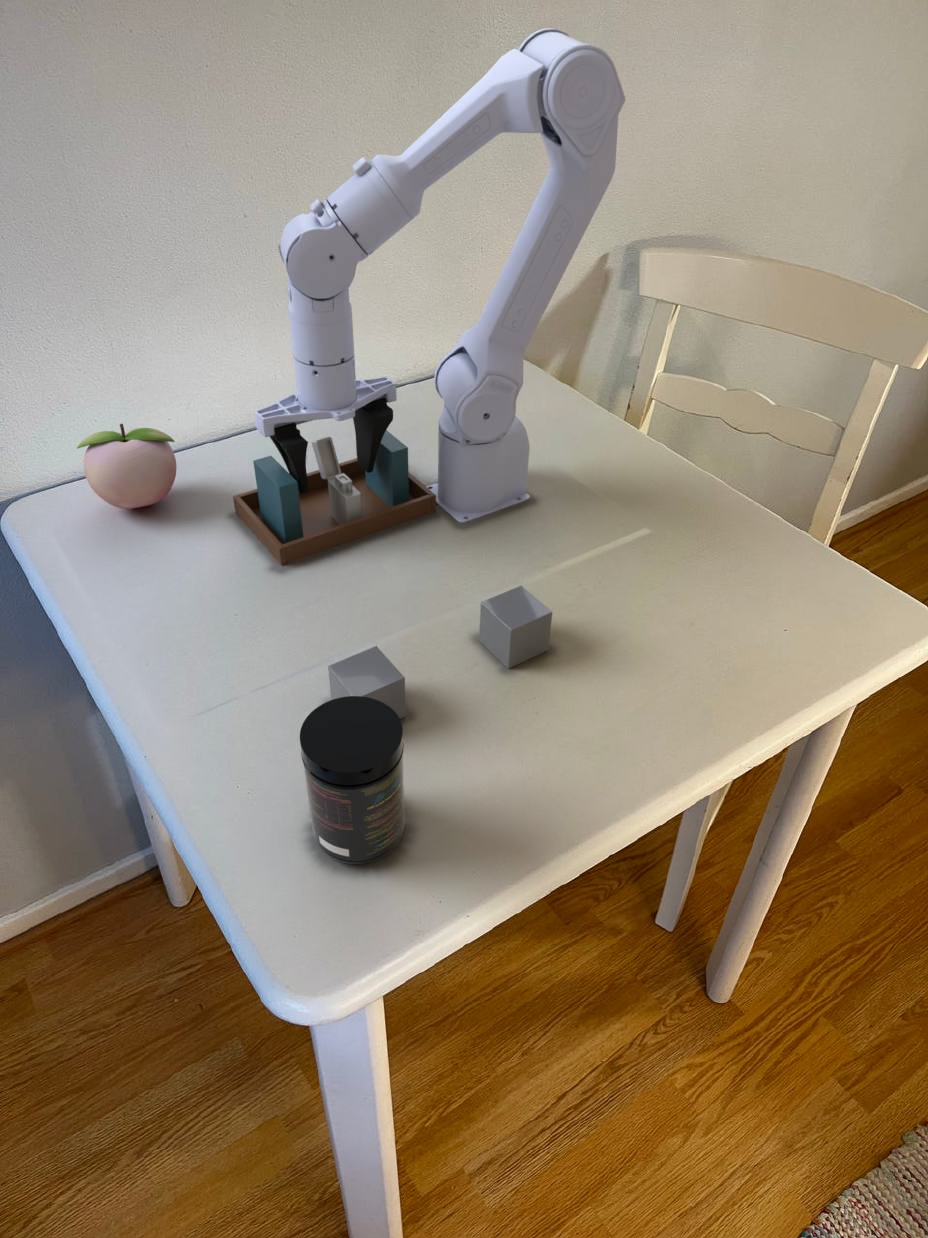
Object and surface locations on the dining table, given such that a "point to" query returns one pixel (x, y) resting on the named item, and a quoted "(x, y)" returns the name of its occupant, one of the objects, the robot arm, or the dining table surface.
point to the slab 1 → (278, 499)
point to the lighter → (337, 483)
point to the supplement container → (354, 778)
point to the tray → (319, 522)
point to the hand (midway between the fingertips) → (333, 478)
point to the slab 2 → (390, 471)
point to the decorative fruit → (130, 466)
